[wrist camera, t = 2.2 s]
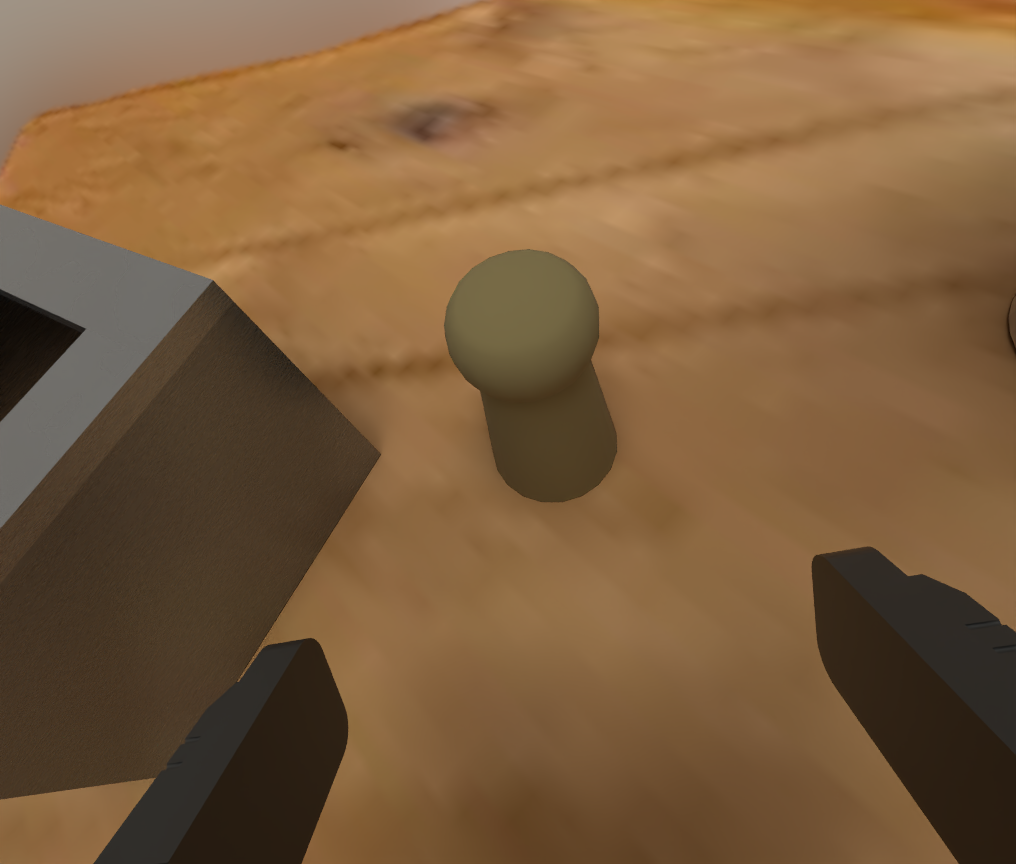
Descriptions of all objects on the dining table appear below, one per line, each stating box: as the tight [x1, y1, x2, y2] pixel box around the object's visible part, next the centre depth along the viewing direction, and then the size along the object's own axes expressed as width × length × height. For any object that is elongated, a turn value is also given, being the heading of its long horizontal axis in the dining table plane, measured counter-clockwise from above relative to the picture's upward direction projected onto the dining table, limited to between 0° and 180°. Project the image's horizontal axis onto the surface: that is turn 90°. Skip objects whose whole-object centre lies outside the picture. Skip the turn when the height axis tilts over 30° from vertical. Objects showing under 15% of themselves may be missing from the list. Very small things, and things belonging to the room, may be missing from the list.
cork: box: [444, 249, 617, 502], centre depth 22 cm, size 6×6×11 cm
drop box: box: [0, 205, 381, 799], centre depth 23 cm, size 16×16×13 cm
